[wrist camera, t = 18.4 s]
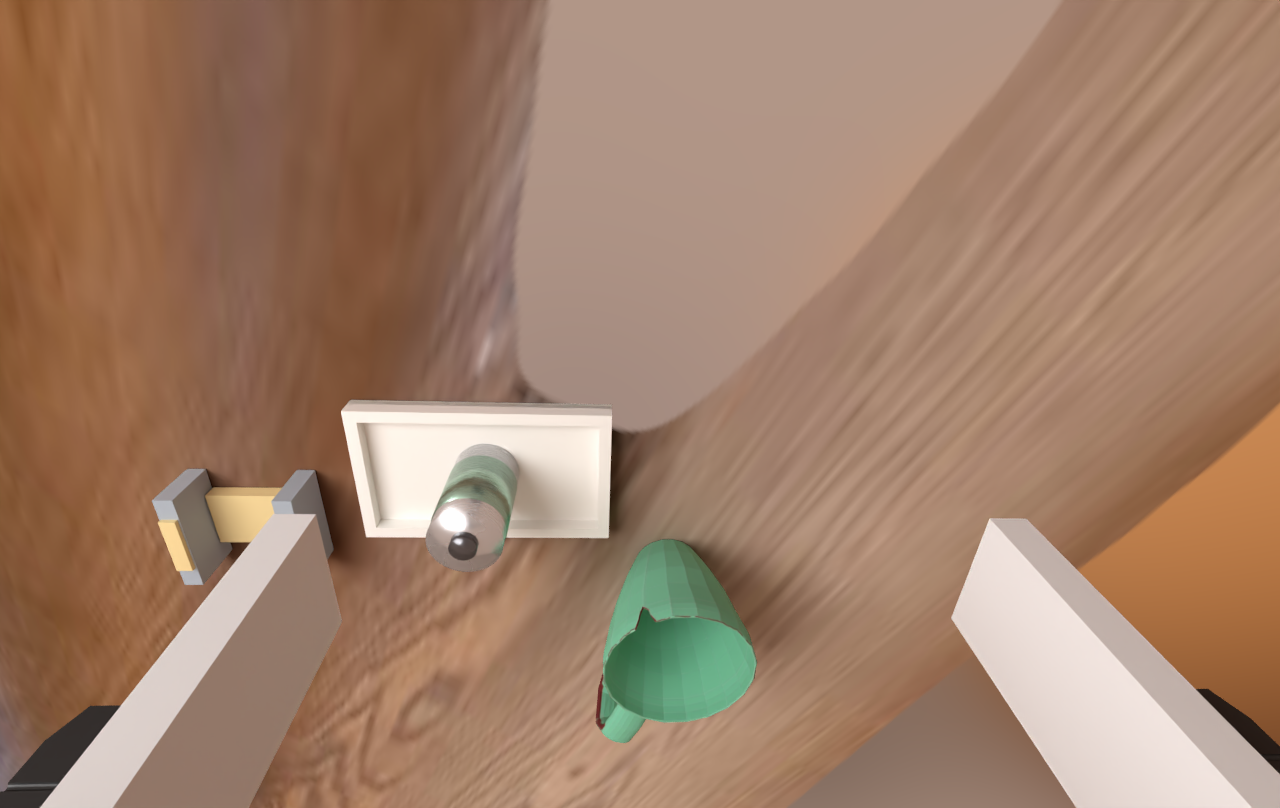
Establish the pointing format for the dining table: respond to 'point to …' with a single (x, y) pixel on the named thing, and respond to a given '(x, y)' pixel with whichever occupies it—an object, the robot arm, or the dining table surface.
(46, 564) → the dining table surface
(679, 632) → the mug
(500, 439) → the tray
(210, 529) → the cradle
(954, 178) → the dining table surface
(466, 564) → the cell
